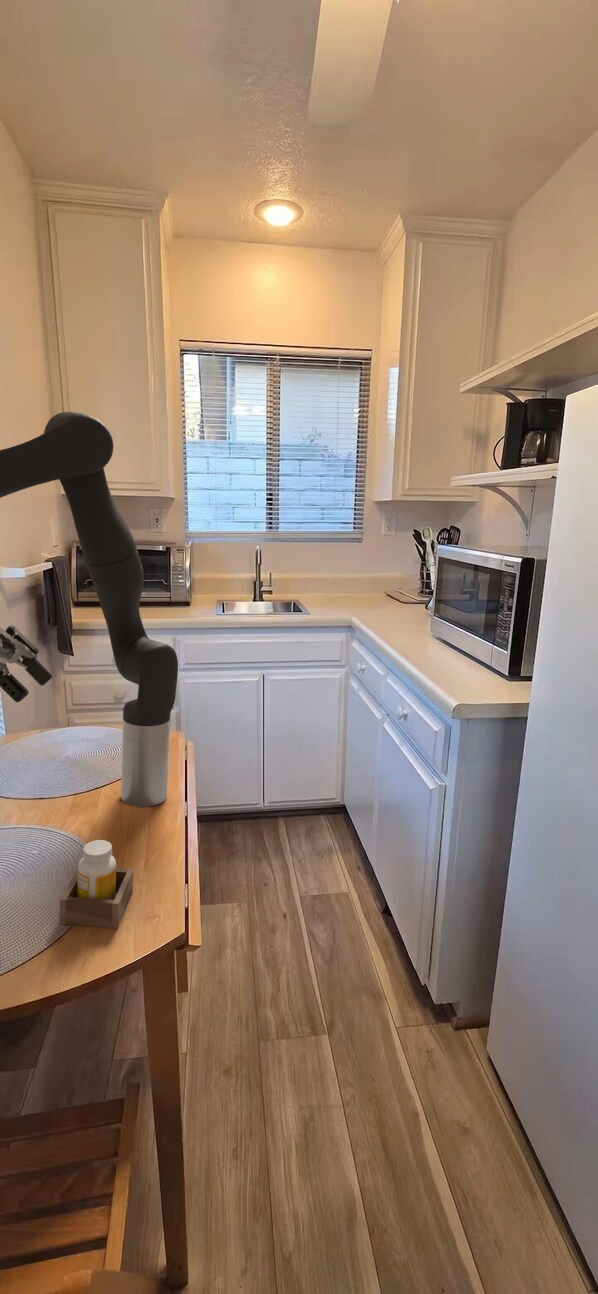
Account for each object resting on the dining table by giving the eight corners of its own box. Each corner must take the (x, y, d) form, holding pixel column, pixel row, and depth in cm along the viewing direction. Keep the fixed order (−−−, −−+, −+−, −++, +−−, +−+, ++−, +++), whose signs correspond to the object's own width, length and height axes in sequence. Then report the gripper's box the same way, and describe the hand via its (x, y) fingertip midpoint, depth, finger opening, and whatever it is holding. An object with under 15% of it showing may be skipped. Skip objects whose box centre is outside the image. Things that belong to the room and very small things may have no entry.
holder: (79, 888, 92) (80, 865, 91) (132, 892, 92) (133, 869, 92) (59, 924, 84) (59, 899, 83) (117, 928, 84) (118, 903, 84)
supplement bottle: (72, 916, 85) (72, 857, 83) (83, 892, 91) (83, 836, 89) (110, 917, 86) (111, 858, 84) (118, 893, 91) (120, 837, 89)
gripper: (-54, 598, 79) (34, 687, 81) (-3, 585, 92) (71, 662, 95) (-93, 634, 80) (-4, 721, 82) (-36, 615, 93) (38, 691, 96)
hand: (36, 689), depth 89 cm, fingers open, 8 cm apart
